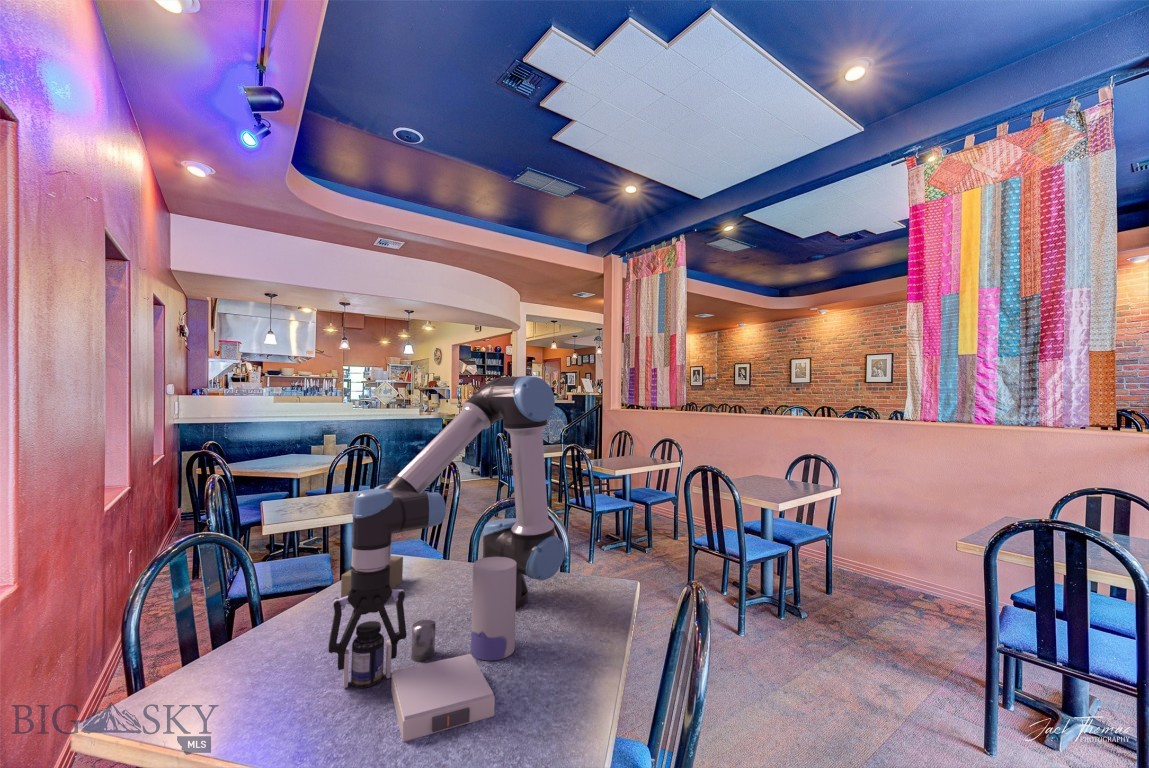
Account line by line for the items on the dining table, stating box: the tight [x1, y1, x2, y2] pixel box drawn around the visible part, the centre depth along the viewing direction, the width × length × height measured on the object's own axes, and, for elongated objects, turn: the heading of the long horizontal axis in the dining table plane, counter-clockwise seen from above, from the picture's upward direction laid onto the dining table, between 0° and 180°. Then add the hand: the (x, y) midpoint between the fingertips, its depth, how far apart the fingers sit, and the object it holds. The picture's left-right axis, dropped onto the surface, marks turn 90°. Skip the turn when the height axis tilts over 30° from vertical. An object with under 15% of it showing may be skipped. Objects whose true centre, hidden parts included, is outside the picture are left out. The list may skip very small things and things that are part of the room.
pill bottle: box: [350, 620, 385, 689], centre depth 100 cm, size 6×6×11 cm
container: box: [470, 557, 517, 662], centre depth 113 cm, size 10×10×20 cm
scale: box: [390, 653, 496, 743], centre depth 93 cm, size 16×17×4 cm
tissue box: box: [340, 555, 404, 605], centre depth 146 cm, size 19×10×16 cm, turn 174°
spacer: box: [411, 619, 437, 663], centre depth 110 cm, size 5×5×7 cm
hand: (367, 679), depth 100 cm, fingers open, 7 cm apart
